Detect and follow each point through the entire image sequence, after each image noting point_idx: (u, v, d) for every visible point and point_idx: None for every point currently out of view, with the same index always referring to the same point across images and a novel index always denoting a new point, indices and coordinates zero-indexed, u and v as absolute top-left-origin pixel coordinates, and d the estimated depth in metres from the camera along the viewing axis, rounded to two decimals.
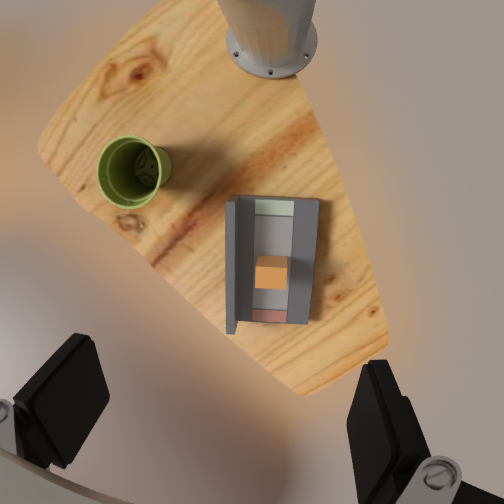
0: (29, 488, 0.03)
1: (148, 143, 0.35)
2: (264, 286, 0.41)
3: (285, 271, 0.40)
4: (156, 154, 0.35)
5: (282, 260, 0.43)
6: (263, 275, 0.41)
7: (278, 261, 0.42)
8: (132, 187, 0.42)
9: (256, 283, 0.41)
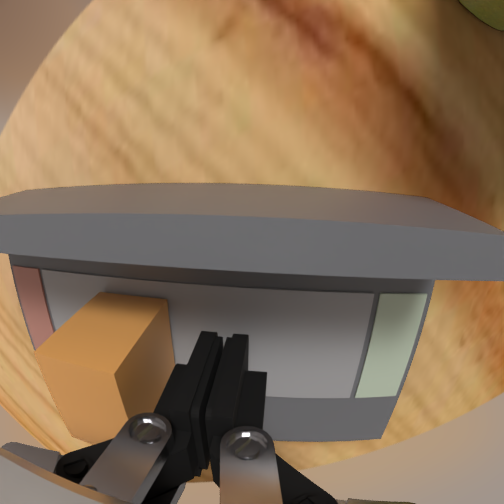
0: (29, 488, 0.03)
1: None
2: (51, 384, 0.08)
3: None
4: None
5: None
6: (89, 393, 0.08)
7: (157, 395, 0.10)
8: None
9: (49, 361, 0.07)
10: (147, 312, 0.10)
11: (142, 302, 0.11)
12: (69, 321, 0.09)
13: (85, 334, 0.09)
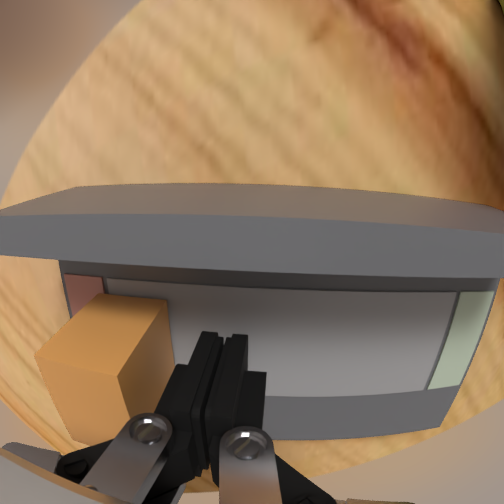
0: (29, 488, 0.03)
1: None
2: (52, 387, 0.08)
3: None
4: None
5: None
6: (90, 396, 0.08)
7: (158, 396, 0.10)
8: None
9: (50, 364, 0.07)
10: (147, 313, 0.10)
11: (142, 302, 0.11)
12: (69, 323, 0.09)
13: (86, 336, 0.09)
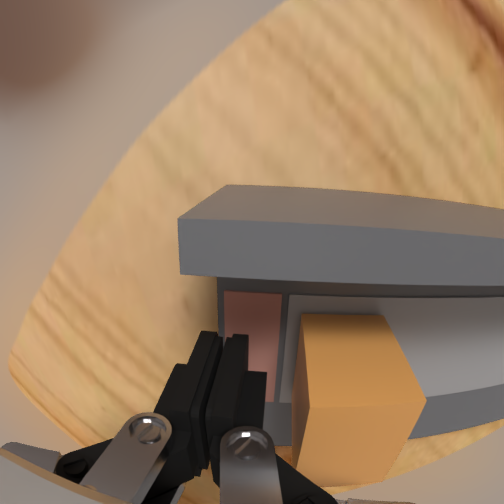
0: (29, 488, 0.03)
1: None
2: (314, 438, 0.07)
3: (369, 480, 0.08)
4: None
5: None
6: (374, 432, 0.07)
7: None
8: None
9: (336, 412, 0.07)
10: (382, 331, 0.10)
11: (364, 320, 0.10)
12: (310, 356, 0.08)
13: (350, 368, 0.08)
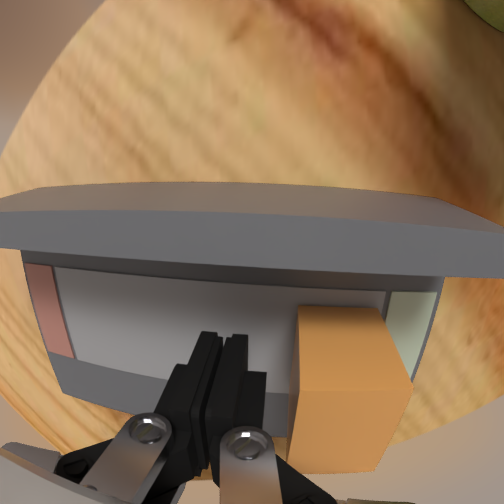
0: (29, 488, 0.03)
1: None
2: (305, 422, 0.07)
3: (361, 469, 0.08)
4: None
5: None
6: (363, 418, 0.07)
7: None
8: None
9: (325, 396, 0.07)
10: (375, 323, 0.10)
11: (358, 313, 0.11)
12: (303, 344, 0.09)
13: (341, 356, 0.08)
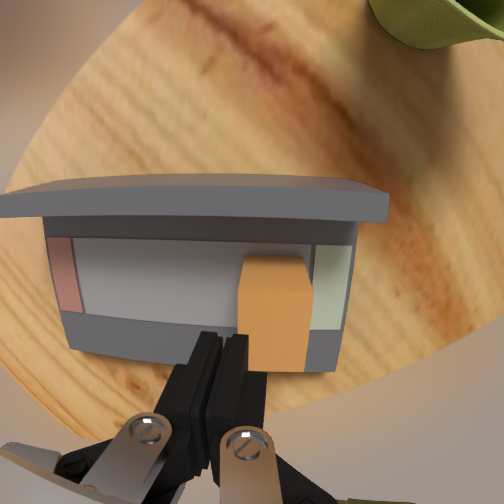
0: (29, 488, 0.03)
1: None
2: (244, 318, 0.13)
3: (293, 368, 0.14)
4: None
5: None
6: (283, 316, 0.13)
7: None
8: None
9: (254, 296, 0.12)
10: (297, 263, 0.16)
11: (286, 258, 0.16)
12: (244, 272, 0.14)
13: (267, 277, 0.14)
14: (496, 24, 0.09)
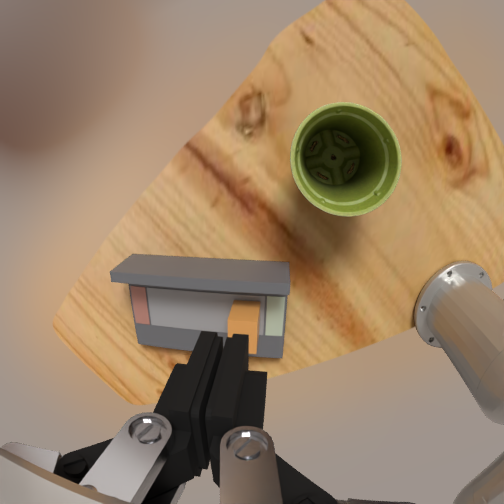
0: (29, 488, 0.03)
1: (385, 199, 0.25)
2: (230, 330, 0.32)
3: (251, 352, 0.32)
4: (368, 210, 0.25)
5: (258, 335, 0.35)
6: (245, 330, 0.32)
7: (258, 333, 0.34)
8: (310, 134, 0.29)
9: (234, 322, 0.31)
10: (256, 306, 0.34)
11: (252, 302, 0.35)
12: (231, 310, 0.33)
13: (241, 313, 0.33)
14: (372, 180, 0.27)
